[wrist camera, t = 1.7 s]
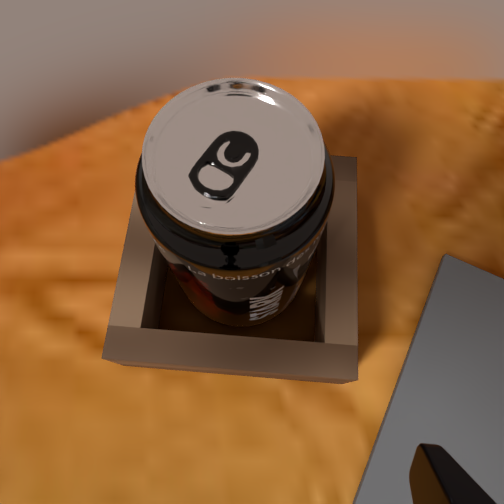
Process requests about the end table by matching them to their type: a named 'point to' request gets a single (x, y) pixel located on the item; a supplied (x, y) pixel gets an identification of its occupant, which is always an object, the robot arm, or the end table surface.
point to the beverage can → (236, 195)
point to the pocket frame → (241, 347)
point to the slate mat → (447, 388)
